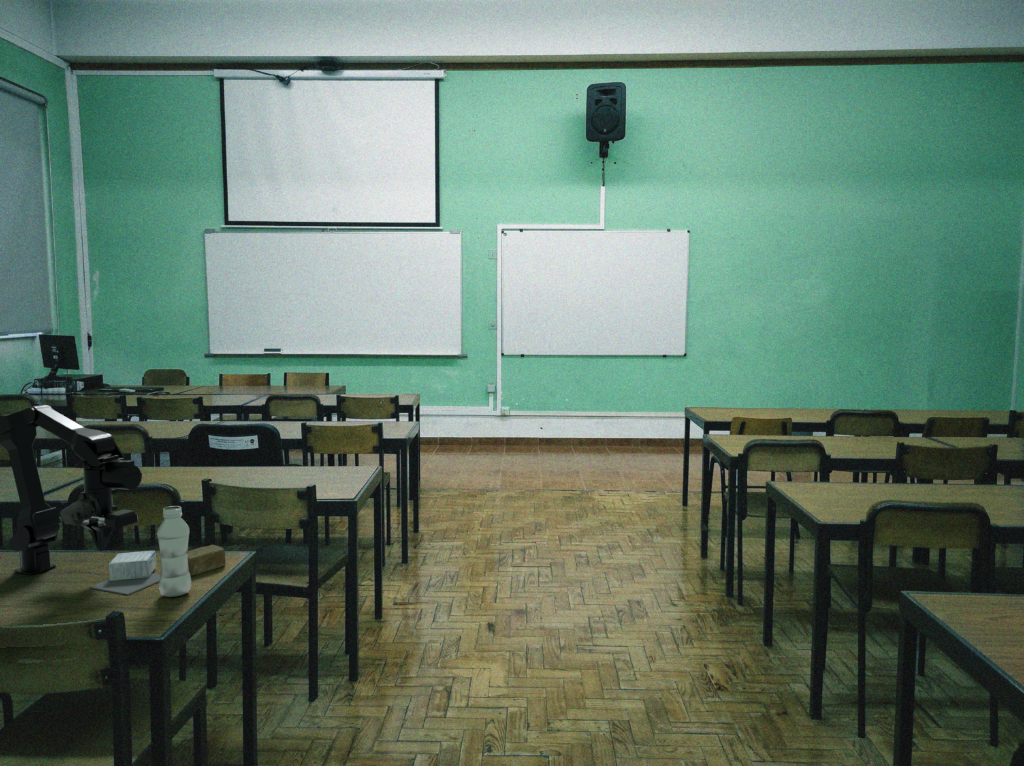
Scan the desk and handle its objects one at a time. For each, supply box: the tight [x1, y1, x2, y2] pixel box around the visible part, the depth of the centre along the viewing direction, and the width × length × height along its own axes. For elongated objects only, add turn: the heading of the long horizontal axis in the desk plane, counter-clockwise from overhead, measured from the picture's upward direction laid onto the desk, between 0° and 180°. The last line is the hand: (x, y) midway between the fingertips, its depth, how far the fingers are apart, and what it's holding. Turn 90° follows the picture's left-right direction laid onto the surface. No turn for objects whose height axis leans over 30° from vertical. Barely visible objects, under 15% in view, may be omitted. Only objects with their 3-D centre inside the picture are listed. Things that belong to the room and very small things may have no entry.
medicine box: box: [108, 550, 157, 581], centre depth 170 cm, size 8×4×9 cm
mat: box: [89, 572, 161, 596], centre depth 166 cm, size 12×12×1 cm
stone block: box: [187, 544, 227, 577], centre depth 174 cm, size 6×12×5 cm, turn 145°
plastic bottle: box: [156, 505, 192, 598], centre depth 157 cm, size 6×7×20 cm
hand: (101, 550), depth 168 cm, fingers closed
